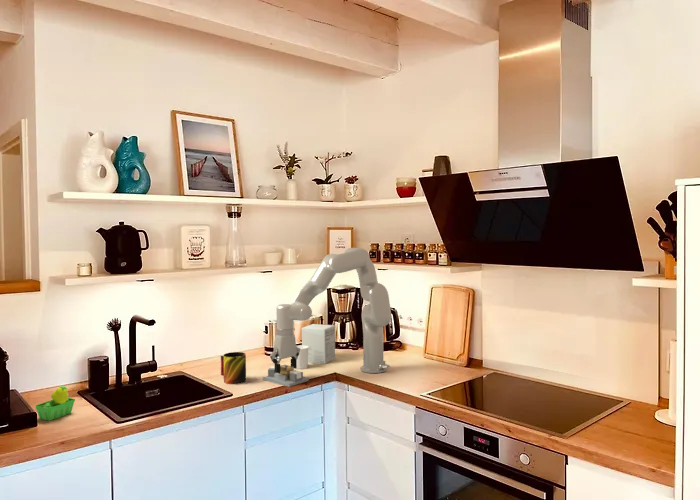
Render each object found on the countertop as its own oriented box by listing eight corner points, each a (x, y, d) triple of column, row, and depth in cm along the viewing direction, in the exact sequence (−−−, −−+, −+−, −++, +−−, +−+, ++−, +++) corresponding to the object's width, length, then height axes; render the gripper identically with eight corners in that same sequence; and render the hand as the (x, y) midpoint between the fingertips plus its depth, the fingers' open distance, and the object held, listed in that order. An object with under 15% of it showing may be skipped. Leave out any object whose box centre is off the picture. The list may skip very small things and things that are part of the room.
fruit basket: (61, 409, 200) (60, 380, 200) (79, 412, 197) (78, 382, 197) (33, 419, 190) (33, 388, 189) (51, 423, 187) (51, 391, 186)
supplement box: (335, 358, 277) (335, 325, 277) (325, 364, 265) (324, 329, 265) (313, 356, 282) (312, 323, 282) (301, 362, 270) (301, 327, 270)
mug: (221, 377, 244) (221, 351, 243) (249, 378, 240) (249, 352, 240) (211, 383, 234) (210, 356, 234) (240, 385, 231) (239, 357, 230)
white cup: (307, 369, 256) (307, 348, 255) (291, 369, 256) (291, 348, 255) (309, 365, 264) (309, 345, 263) (293, 365, 264) (293, 345, 263)
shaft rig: (308, 380, 236) (308, 369, 236) (289, 386, 227) (288, 375, 227) (281, 373, 248) (281, 363, 248) (261, 379, 239) (261, 368, 239)
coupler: (278, 377, 238) (277, 365, 238) (284, 375, 241) (284, 363, 241) (287, 379, 234) (287, 367, 234) (293, 377, 237) (293, 365, 237)
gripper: (293, 328, 246) (294, 365, 246) (264, 334, 232) (265, 372, 233) (305, 330, 241) (305, 367, 241) (276, 336, 228) (276, 375, 228)
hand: (285, 370), depth 237 cm, fingers open, 9 cm apart
